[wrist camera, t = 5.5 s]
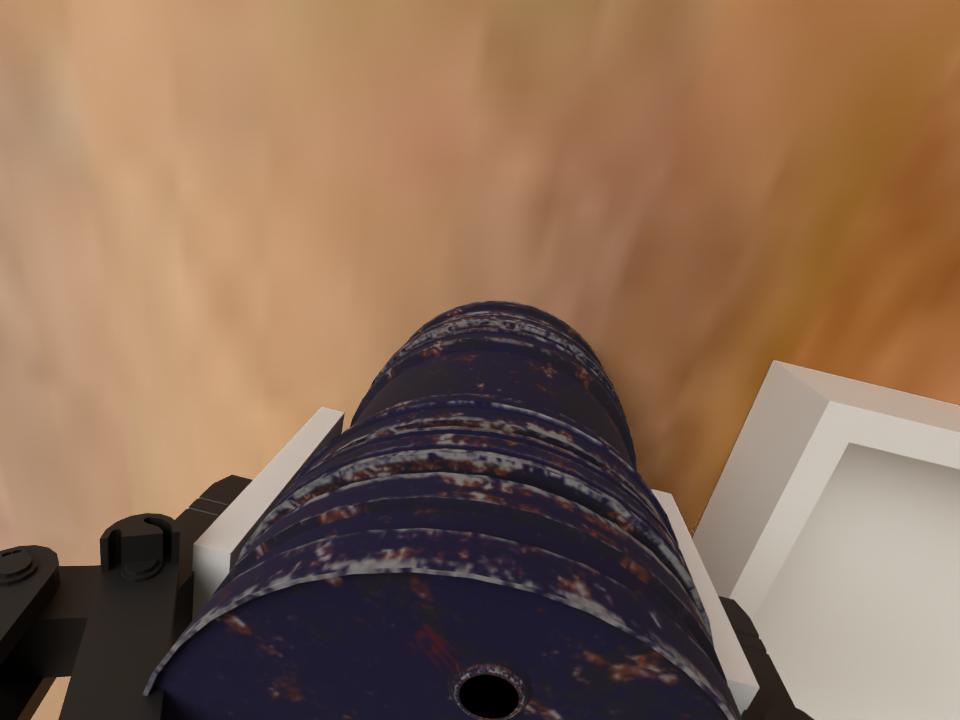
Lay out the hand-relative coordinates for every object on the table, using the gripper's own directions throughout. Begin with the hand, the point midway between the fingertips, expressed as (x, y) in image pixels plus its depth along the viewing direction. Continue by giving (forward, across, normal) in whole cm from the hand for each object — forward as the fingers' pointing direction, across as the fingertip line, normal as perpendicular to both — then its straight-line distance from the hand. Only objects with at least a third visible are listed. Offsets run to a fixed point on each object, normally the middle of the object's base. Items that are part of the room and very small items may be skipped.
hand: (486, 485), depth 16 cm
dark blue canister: (+6, 0, 0) cm, 6 cm away
